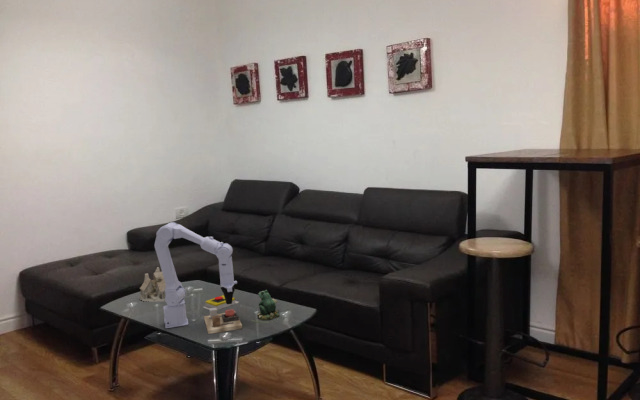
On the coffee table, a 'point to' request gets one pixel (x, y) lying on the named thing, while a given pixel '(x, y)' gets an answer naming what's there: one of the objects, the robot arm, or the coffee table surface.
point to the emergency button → (218, 303)
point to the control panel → (223, 323)
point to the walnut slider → (216, 320)
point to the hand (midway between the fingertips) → (229, 303)
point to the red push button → (229, 312)
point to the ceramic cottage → (153, 288)
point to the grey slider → (213, 312)
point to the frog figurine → (267, 307)
